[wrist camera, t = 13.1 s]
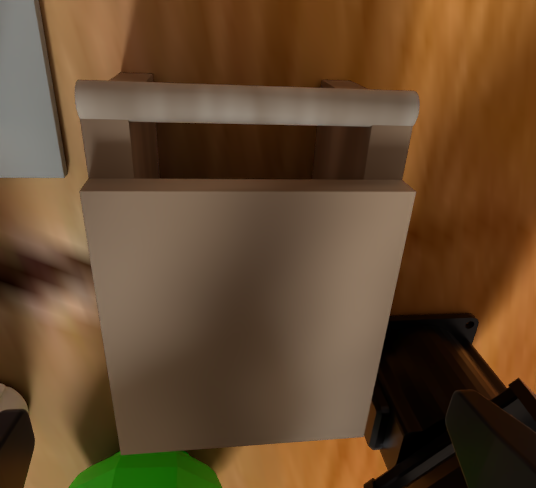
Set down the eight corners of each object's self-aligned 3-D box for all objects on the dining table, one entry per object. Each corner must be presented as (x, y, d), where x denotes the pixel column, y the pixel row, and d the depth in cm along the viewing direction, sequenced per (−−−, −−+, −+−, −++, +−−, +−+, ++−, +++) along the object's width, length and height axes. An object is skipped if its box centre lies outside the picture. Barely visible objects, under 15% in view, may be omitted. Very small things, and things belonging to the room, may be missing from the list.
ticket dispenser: (352, 67, 18) (436, 99, 11) (317, 338, 24) (359, 457, 17) (118, 58, 16) (63, 87, 10) (147, 345, 23) (124, 476, 16)
